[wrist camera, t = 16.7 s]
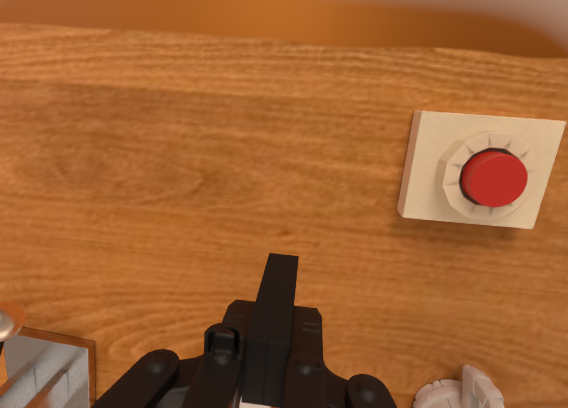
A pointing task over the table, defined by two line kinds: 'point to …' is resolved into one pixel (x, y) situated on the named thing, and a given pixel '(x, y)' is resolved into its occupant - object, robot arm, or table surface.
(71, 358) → the bracket
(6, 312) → the lever
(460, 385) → the mug
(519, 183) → the button
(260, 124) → the table surface
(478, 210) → the button box
